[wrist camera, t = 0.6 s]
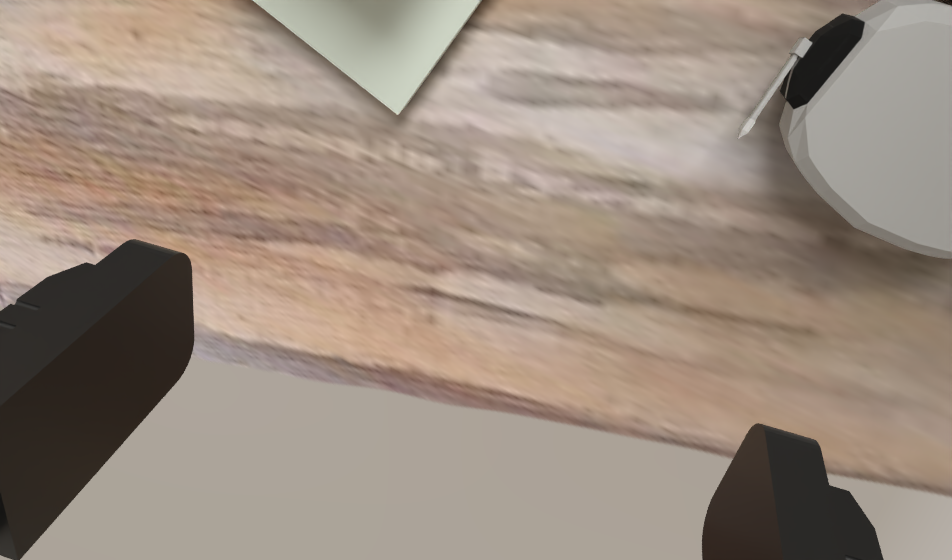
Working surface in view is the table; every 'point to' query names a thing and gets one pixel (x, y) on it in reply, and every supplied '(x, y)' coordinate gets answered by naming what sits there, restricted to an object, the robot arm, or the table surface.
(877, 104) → the robot toy
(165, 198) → the table surface
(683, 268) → the table surface
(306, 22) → the board
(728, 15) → the table surface
